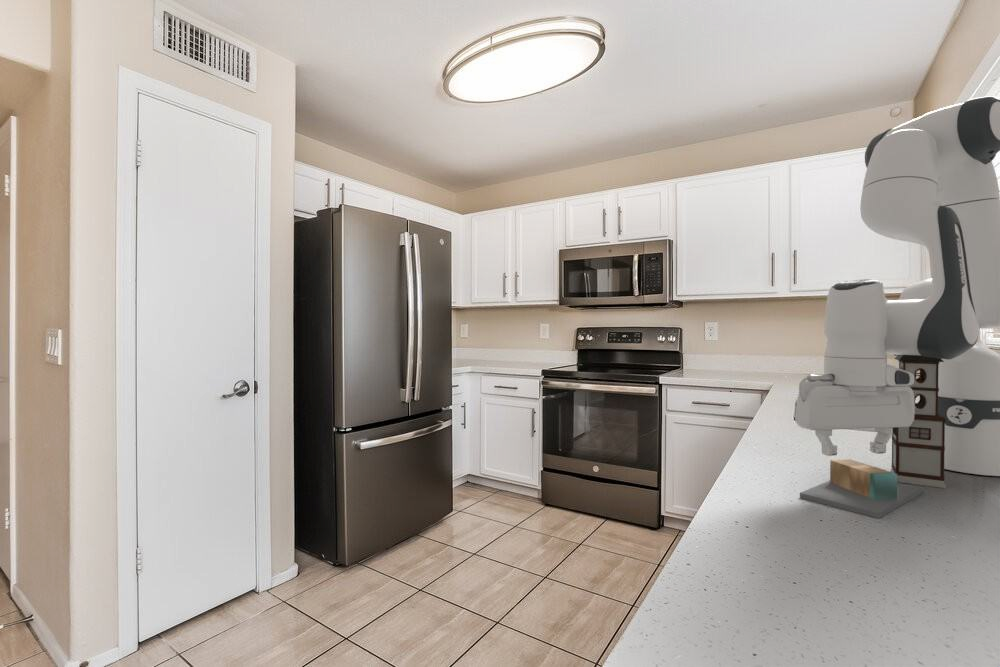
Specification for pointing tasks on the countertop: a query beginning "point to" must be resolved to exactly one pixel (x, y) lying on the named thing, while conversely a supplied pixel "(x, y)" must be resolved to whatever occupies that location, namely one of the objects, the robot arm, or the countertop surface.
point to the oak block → (864, 479)
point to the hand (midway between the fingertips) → (853, 453)
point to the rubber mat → (859, 498)
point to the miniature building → (921, 428)
